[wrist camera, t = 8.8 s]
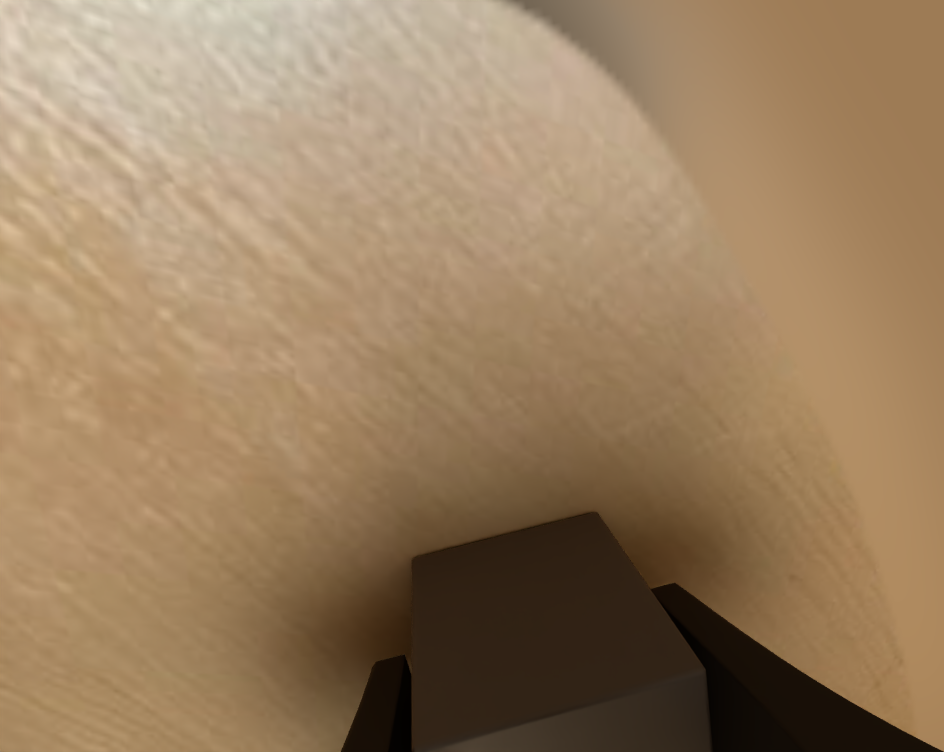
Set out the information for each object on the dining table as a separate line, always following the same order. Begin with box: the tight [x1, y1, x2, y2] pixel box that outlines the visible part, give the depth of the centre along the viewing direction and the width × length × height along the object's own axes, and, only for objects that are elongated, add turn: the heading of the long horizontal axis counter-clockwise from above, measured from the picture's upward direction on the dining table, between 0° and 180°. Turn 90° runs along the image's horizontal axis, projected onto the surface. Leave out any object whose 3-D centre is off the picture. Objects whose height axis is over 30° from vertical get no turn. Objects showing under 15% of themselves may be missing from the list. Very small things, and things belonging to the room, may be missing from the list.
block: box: [412, 512, 713, 752], centre depth 10 cm, size 4×4×4 cm
